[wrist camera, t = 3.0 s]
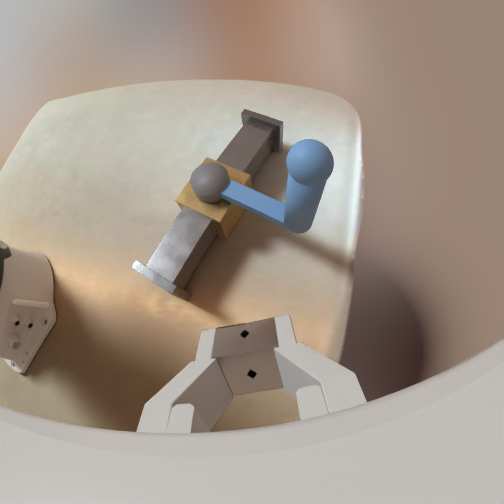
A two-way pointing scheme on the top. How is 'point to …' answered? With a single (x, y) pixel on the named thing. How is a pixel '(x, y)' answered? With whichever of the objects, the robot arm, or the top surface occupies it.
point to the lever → (286, 215)
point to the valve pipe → (211, 207)
